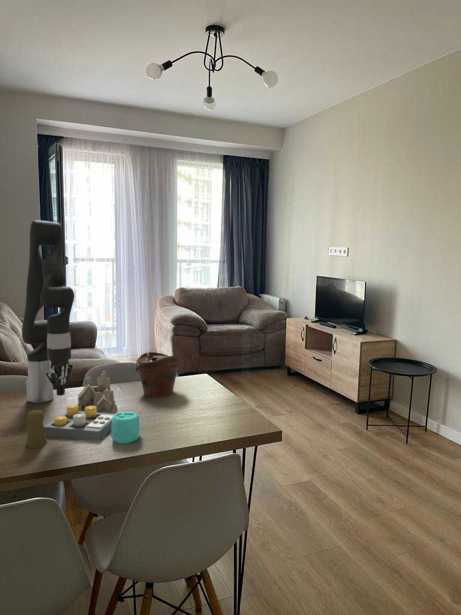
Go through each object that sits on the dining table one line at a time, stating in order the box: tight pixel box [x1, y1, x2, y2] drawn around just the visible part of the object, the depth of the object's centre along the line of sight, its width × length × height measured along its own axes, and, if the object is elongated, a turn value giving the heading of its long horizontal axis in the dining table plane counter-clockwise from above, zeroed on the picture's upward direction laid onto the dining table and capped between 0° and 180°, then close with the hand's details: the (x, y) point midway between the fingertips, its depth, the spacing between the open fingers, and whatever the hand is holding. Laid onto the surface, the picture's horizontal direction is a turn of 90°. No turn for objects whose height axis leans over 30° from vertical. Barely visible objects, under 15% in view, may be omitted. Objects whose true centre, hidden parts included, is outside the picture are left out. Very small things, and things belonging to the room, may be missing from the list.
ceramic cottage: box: [76, 370, 119, 414], centre depth 173 cm, size 16×16×15 cm
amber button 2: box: [66, 404, 79, 416], centre depth 161 cm, size 4×4×3 cm
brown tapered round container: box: [134, 351, 181, 398], centre depth 197 cm, size 18×20×18 cm
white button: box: [73, 414, 86, 426], centre depth 152 cm, size 4×4×3 cm
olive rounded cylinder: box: [25, 409, 47, 449], centre depth 144 cm, size 6×6×11 cm
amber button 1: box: [53, 415, 67, 427], centre depth 154 cm, size 4×4×3 cm
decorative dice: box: [110, 410, 140, 444], centre depth 149 cm, size 8×8×8 cm
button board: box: [43, 411, 116, 441], centre depth 157 cm, size 20×16×4 cm
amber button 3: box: [85, 406, 97, 418], centre depth 160 cm, size 4×4×3 cm
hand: (60, 394), depth 154 cm, fingers closed
